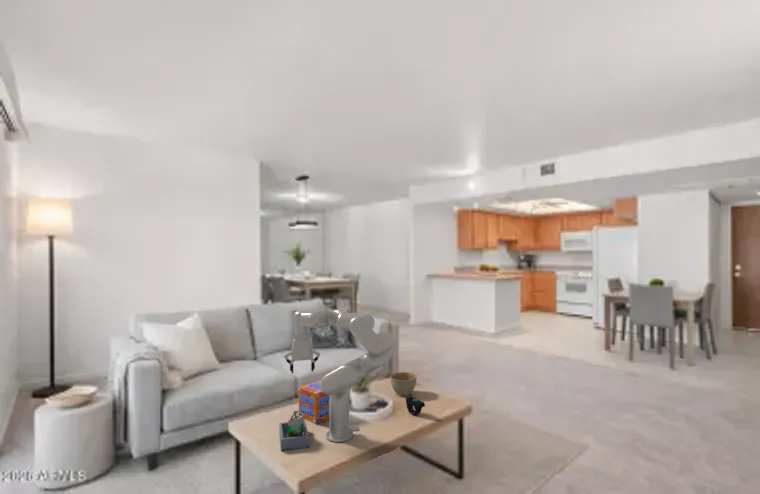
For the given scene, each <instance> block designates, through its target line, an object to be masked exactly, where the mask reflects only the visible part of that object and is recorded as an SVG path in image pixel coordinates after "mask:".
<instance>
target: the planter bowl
mask: <svg viewBox="0 0 760 494" xmlns="http://www.w3.org/2000/svg"><path fill="white" fill-rule="evenodd" d="M417 376H418V375H416V374H415V373H412V372H405V371H400V372H399V371H398V372H394V373H392V374H390V376H389V378H390V385H391V387H392V389H393V391H394V392H395V395H397V396H399V397H409V394H412V392H413V391H414V390H415V388H416V385H417V379H418V377H417Z"/></svg>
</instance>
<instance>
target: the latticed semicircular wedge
mask: <svg viewBox="0 0 760 494" xmlns="http://www.w3.org/2000/svg"><path fill="white" fill-rule="evenodd" d="M304 420H305V419H304V415H303V413H302V412H299V410H293V414H292V416H291V417H290V420H288V421H287V422H288V438H290V437H298V436H302V428H303V421H304Z"/></svg>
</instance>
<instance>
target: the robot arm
mask: <svg viewBox="0 0 760 494" xmlns="http://www.w3.org/2000/svg"><path fill="white" fill-rule="evenodd" d="M293 318H294V319H293V320H294V321H293V322H294V332H293V333H294V335H293V336H294V338H293V339H292V341H291V343H292V344H291V351H290V352H288V353H285V354H284V355H283V357H284V359H285V361H286V362H287V363H288V365H289V371H290V372H291V374H294V362H298V361H311V362H310V363H311V365H310V366H311V367H310V369H311V372H313V373H314V370H315V369H316V368H315V363H316V362H317V361H318V360H319V358H320V356H321V353H320V352H319V351H316V350H314V348H313V339H312V338H311V337H314V333H312V332H311V329H316V328H319V327H321V326H325V325H326V326H335V327H337V328H338V330H340V331H342V332H350V333H351V334H352V336H353V337H354V338H355V339H356V340H357V341H358V343H359V344H360V345H361V346H363V348H364V349H365V350H366V351H367V352H366V353H364V354H363V355H361V356H358V357H357V358H355V359H352V360H349V361H347V363H344V364H343V365H341V366H339V367H338V368H335V369H333V370H331V371H330V372H328V373H326V374H325V375H324V376H323V377H322V378H321V380H320V381H321V382H320V388H321V390H322V392H323V393H324V394H326V395H330V396H329V420H328V423H329V424H328V428H329V430H328V431H327V432H326V434H325V438H326V440H328V441H329V442H334V443H342V442H347V441H350V440H351V439H352V438H353V437H354V432H360V430H361V429H360V426H357V425H351V424H350V422H351V419H350V412H351V409H350V397H351V396H350V392H351V387H352V386H354V385H355V384H357V383H358V382H360V381H361V380H362V379H363V378H365V377H366V376H367V375H369V374H371V373H373V372H375V371H376V370H378V369H379V368H381V367H382V366H384V365H385V364H386V363H388V362H389V360H390V359H391V358H392V356H393V354H394V352H395V346H396V341H395V337H394V335H393V334H392V333H391V332H389V331H380V332H378V333H376V332H375V330H373V329H374V327H375V323H376V322H375V319H374V317H373V316H372V315H370V314H369V313H361V312H360V313H358V312H346V311H345V312H343V311H339V310H334V309H318V310H315V311H311V312H310V311H308V310H297V311H295V312H294V316H293ZM314 355H316V356H315V357H314ZM290 356H291V359H289V358H288V357H290Z"/></svg>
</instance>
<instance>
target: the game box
mask: <svg viewBox="0 0 760 494" xmlns="http://www.w3.org/2000/svg"><path fill="white" fill-rule="evenodd" d="M320 382H321V380H318V381H315V382H311V383H308V384H305V385H301V386H298V411H299V412H302V413H303V415H304V420H305V421H308V422H310V423H313V424H314V425H318V424H321V423H323V422H326V421H329V396H330V395H326V394H324V393H323V392H322V390H321V388H320Z"/></svg>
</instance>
